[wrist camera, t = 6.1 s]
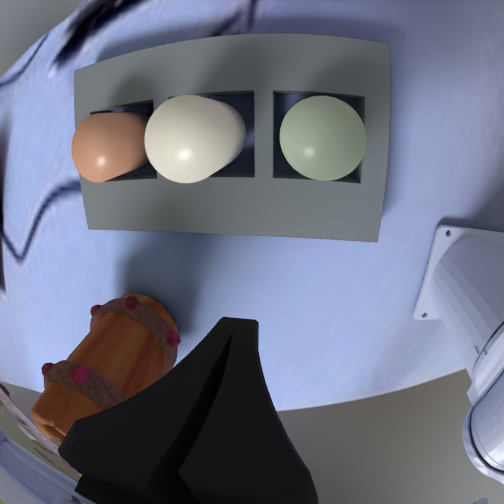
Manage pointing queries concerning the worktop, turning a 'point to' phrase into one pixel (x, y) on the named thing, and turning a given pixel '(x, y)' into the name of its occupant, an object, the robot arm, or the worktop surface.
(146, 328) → the mug
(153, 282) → the worktop surface
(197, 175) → the button cream
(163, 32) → the worktop surface
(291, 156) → the button sage
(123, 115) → the button terracotta
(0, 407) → the house plant
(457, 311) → the robot arm
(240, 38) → the panel
